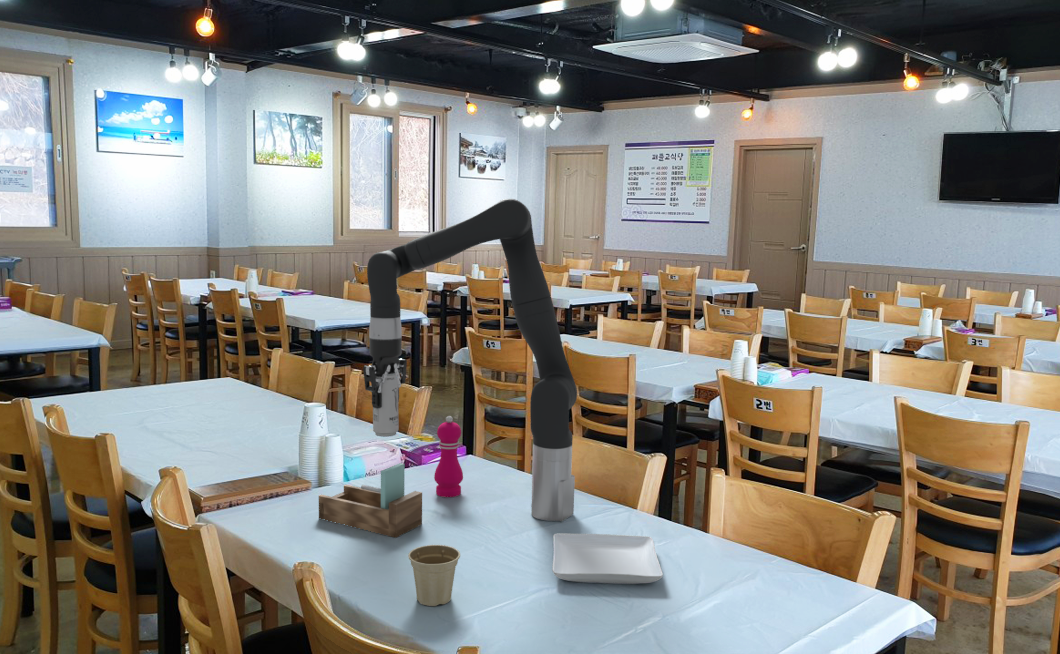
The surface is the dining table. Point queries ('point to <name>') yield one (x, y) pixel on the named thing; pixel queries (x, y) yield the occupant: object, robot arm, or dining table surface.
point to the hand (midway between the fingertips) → (385, 405)
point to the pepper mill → (448, 460)
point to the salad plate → (605, 558)
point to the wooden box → (372, 511)
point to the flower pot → (434, 573)
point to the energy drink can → (387, 408)
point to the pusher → (390, 485)
